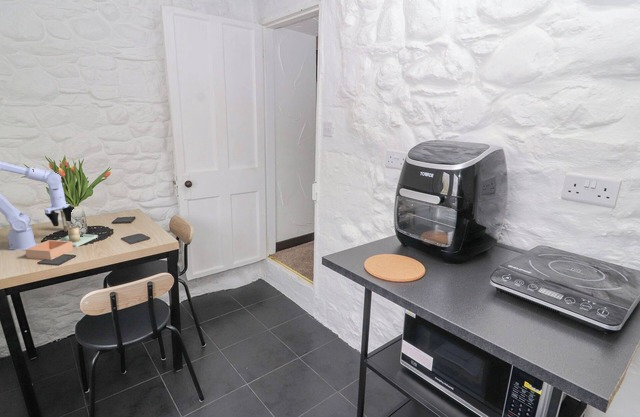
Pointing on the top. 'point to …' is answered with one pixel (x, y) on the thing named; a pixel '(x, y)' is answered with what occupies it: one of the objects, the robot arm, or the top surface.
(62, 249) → the salmon tray
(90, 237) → the sage tray
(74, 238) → the beech cylinder
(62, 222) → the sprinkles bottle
